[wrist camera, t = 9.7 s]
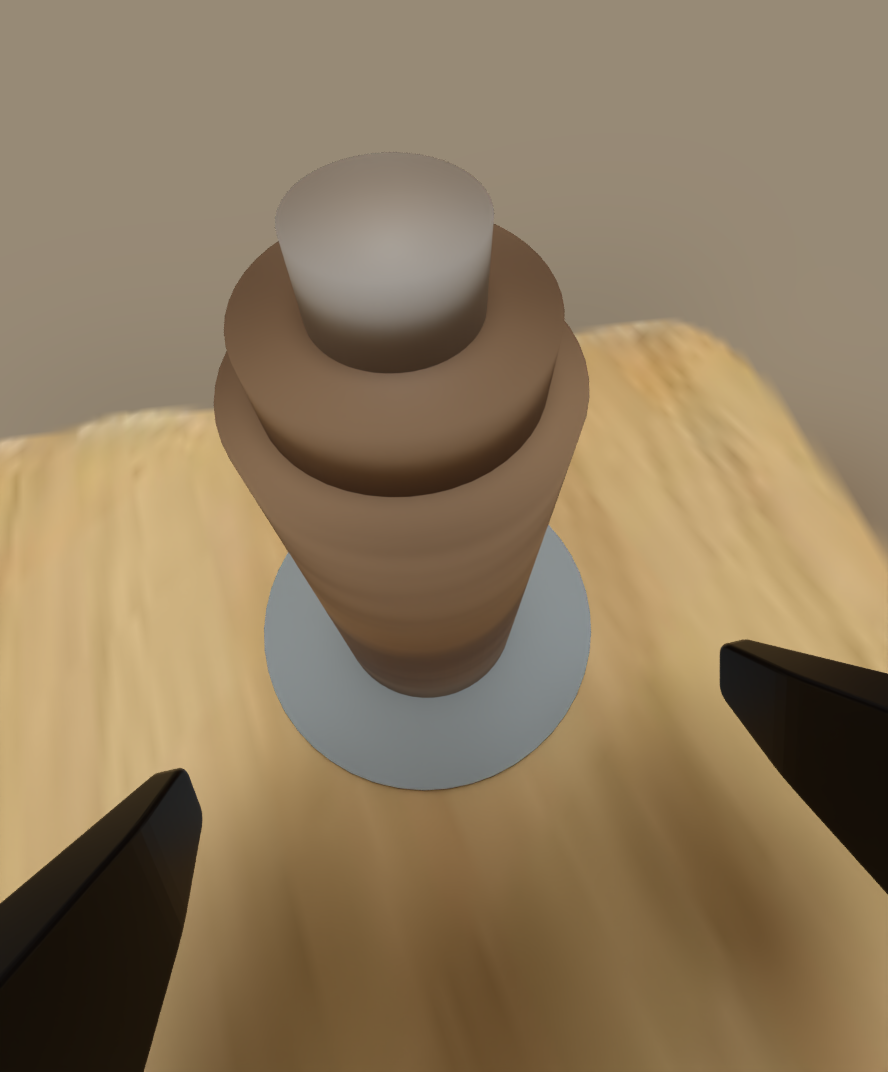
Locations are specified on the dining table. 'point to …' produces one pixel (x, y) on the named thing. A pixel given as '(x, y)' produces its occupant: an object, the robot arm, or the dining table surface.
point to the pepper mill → (403, 410)
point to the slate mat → (442, 722)
